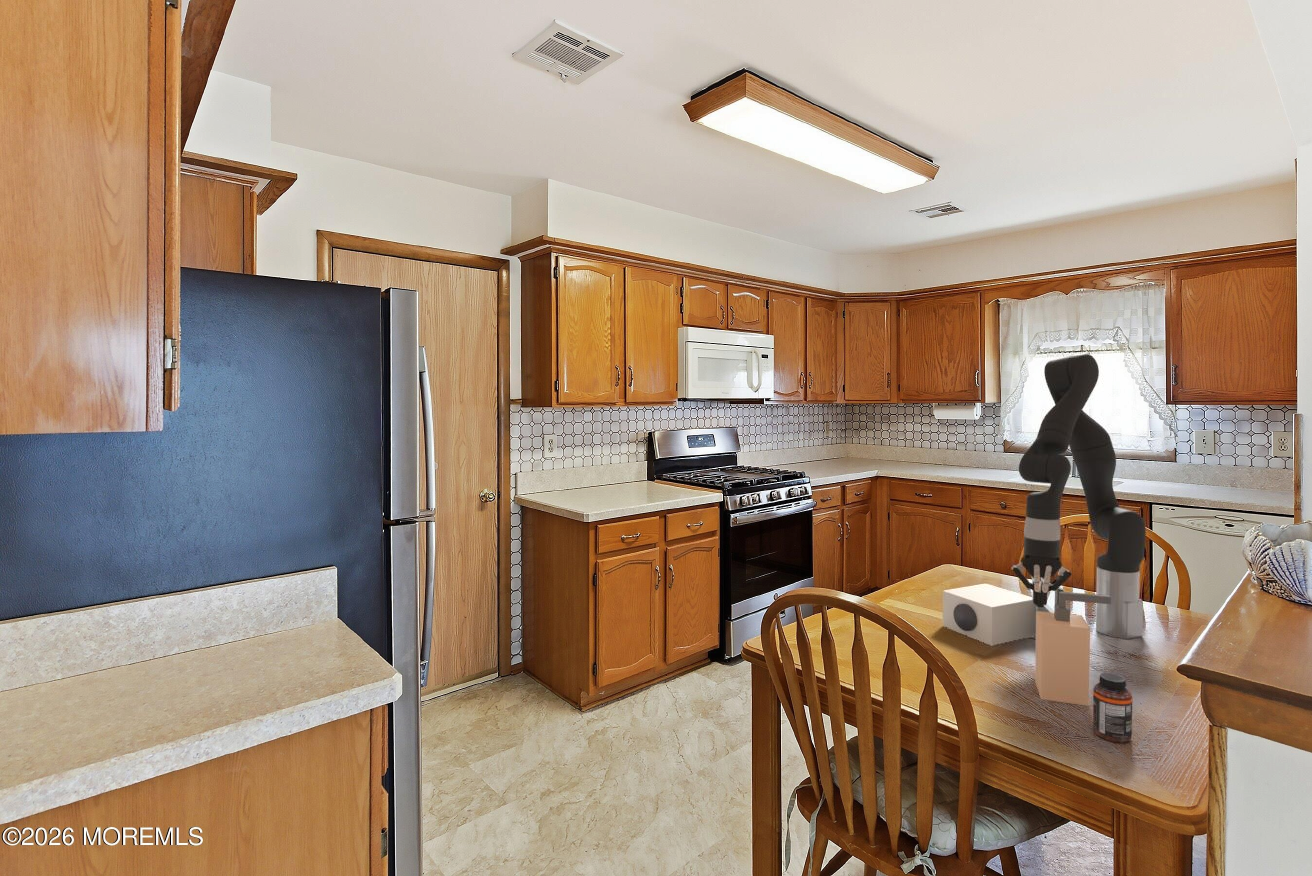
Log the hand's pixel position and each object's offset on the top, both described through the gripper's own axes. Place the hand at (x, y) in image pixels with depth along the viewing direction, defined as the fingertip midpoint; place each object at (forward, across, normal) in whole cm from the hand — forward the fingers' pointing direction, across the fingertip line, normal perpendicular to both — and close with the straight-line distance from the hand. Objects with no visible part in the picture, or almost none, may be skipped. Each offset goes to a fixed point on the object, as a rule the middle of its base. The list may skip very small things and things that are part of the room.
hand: (1039, 606), depth 158 cm
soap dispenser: (+12, +3, -22) cm, 25 cm away
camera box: (+12, -9, +15) cm, 21 cm away
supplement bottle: (+12, +5, -38) cm, 41 cm away
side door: (+12, +4, +7) cm, 14 cm away
